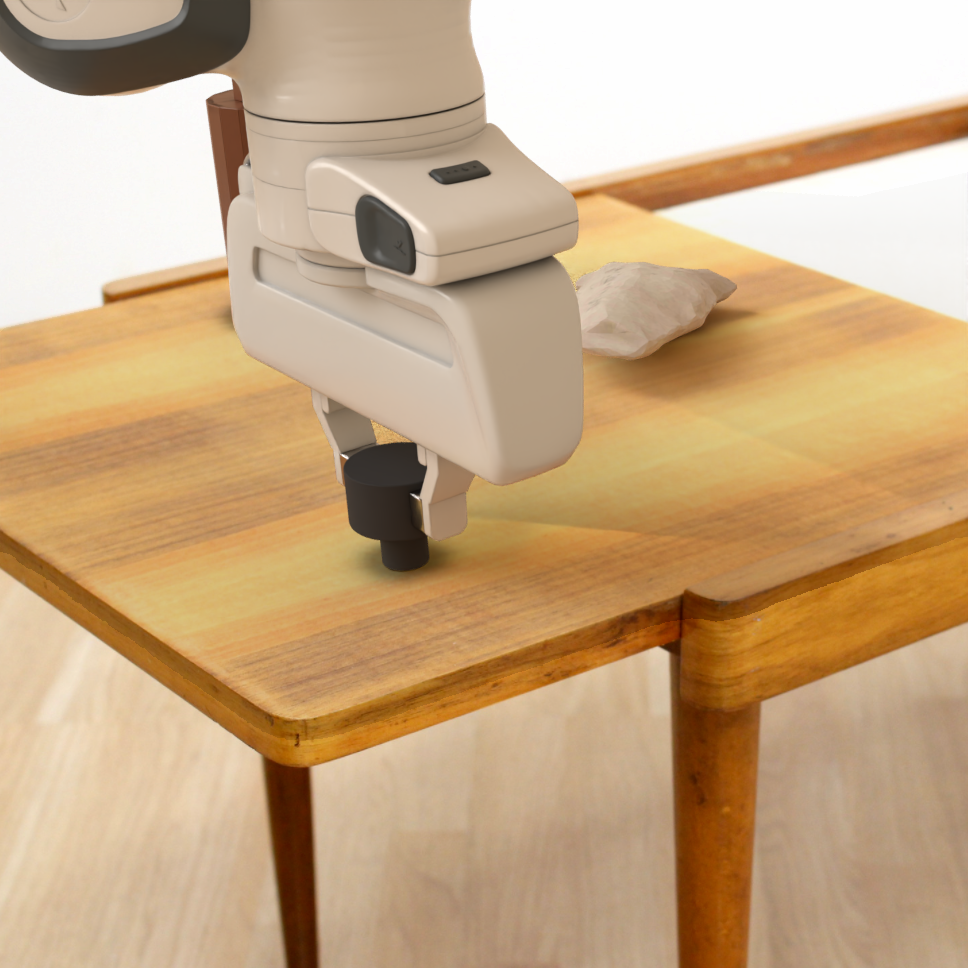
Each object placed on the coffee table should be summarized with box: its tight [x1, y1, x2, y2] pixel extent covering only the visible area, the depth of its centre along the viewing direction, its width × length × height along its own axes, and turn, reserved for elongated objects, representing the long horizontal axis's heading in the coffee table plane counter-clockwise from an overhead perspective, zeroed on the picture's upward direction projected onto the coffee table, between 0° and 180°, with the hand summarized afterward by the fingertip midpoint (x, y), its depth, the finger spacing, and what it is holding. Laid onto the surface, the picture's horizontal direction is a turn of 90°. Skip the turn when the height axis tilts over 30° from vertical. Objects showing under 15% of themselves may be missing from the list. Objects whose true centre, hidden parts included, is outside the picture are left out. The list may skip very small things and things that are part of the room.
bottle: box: [205, 78, 249, 264], centre depth 91 cm, size 7×7×18 cm
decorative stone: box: [575, 261, 738, 362], centre depth 87 cm, size 10×4×15 cm
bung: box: [343, 441, 430, 572], centre depth 64 cm, size 4×4×4 cm
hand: (401, 509), depth 64 cm, fingers closed on bung, 4 cm apart
